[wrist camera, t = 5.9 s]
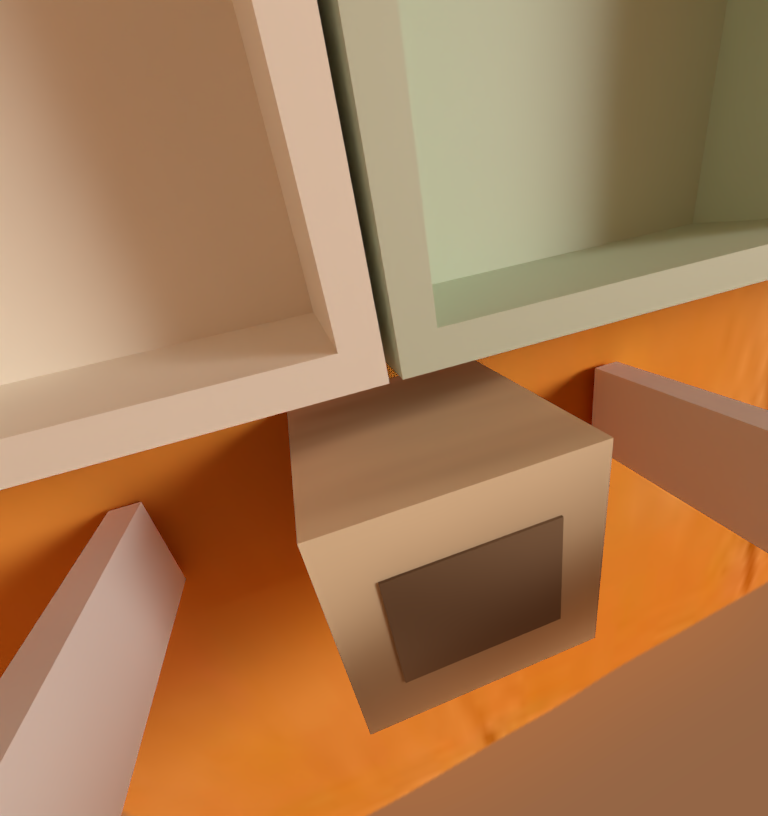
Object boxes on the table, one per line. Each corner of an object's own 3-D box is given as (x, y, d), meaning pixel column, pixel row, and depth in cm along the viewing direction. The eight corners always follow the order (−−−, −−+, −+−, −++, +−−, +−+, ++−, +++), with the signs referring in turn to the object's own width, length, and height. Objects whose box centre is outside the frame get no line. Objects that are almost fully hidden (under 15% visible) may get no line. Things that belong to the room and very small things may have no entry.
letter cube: (286, 405, 9) (296, 546, 5) (467, 356, 10) (616, 439, 6) (334, 550, 12) (372, 738, 7) (480, 499, 12) (597, 641, 8)
